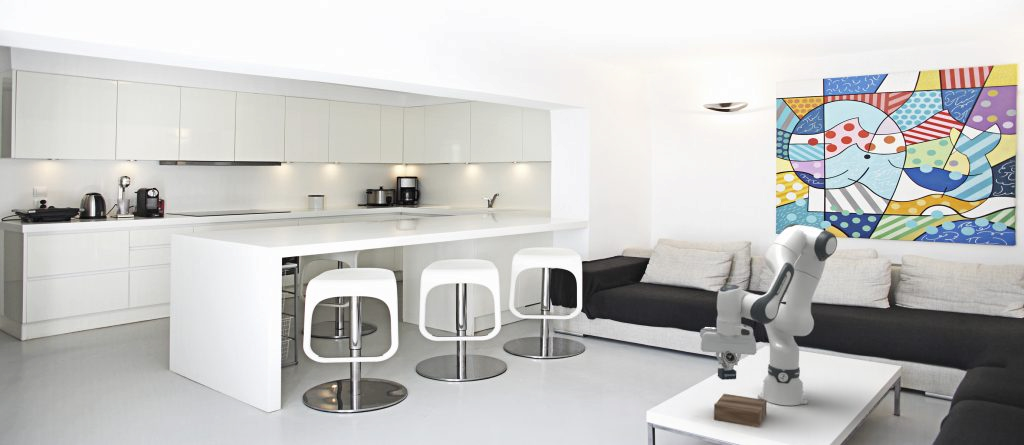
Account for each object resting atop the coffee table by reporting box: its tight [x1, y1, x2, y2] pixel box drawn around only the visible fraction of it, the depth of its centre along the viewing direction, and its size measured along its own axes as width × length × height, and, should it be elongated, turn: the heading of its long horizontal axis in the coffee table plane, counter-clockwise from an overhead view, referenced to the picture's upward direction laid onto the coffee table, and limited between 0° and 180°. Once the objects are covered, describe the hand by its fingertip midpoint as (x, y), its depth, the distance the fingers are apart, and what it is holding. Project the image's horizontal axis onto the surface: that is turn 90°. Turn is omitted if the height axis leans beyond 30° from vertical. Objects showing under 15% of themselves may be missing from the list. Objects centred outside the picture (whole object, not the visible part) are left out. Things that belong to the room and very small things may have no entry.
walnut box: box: [713, 393, 768, 428], centre depth 273 cm, size 16×16×6 cm
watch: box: [717, 351, 737, 381], centre depth 274 cm, size 6×8×11 cm
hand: (728, 364), depth 274 cm, fingers closed on watch, 4 cm apart
